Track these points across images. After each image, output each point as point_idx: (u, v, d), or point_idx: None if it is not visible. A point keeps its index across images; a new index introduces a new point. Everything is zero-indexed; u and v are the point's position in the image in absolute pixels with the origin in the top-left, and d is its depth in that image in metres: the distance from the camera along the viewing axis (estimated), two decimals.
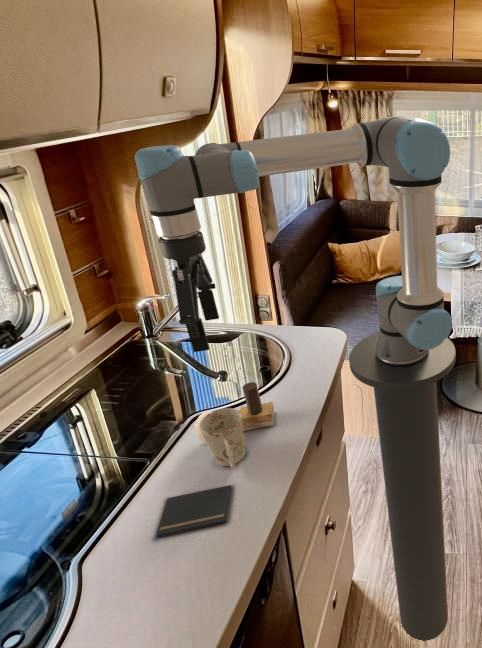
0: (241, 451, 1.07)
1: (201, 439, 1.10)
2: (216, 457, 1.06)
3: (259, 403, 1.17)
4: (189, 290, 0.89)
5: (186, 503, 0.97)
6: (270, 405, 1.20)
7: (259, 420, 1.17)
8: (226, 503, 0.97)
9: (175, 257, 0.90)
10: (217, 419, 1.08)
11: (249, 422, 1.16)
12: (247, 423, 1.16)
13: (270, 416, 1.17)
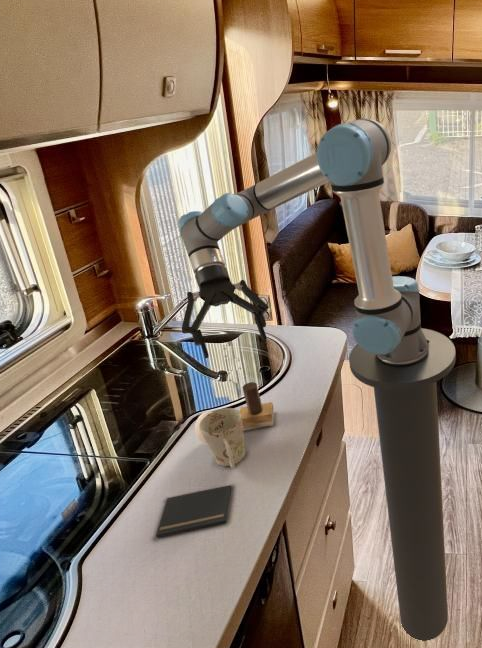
0: (241, 451, 1.07)
1: (201, 439, 1.10)
2: (216, 457, 1.06)
3: (259, 403, 1.17)
4: None
5: (186, 503, 0.97)
6: (270, 405, 1.20)
7: (259, 420, 1.17)
8: (226, 503, 0.97)
9: None
10: (217, 419, 1.08)
11: (249, 422, 1.16)
12: (247, 423, 1.16)
13: (270, 416, 1.17)
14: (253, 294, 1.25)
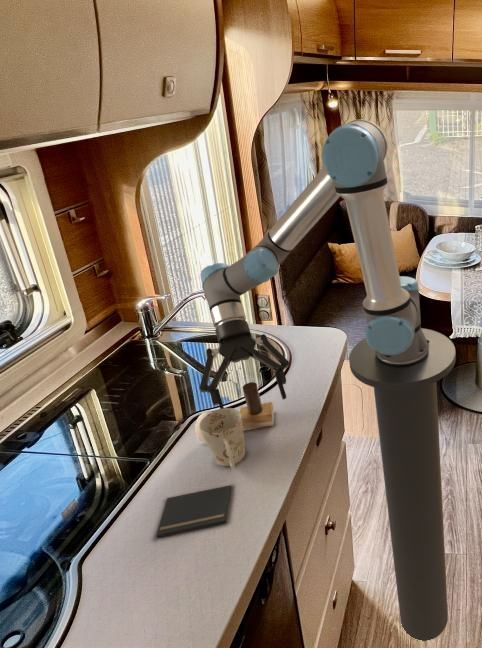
0: (241, 451, 1.07)
1: (201, 439, 1.10)
2: (216, 457, 1.06)
3: (259, 403, 1.17)
4: (205, 364, 1.14)
5: (186, 503, 0.97)
6: (270, 405, 1.20)
7: (259, 420, 1.17)
8: (226, 503, 0.97)
9: None
10: (217, 419, 1.08)
11: (249, 422, 1.16)
12: (247, 423, 1.16)
13: (270, 416, 1.17)
14: (274, 349, 1.20)
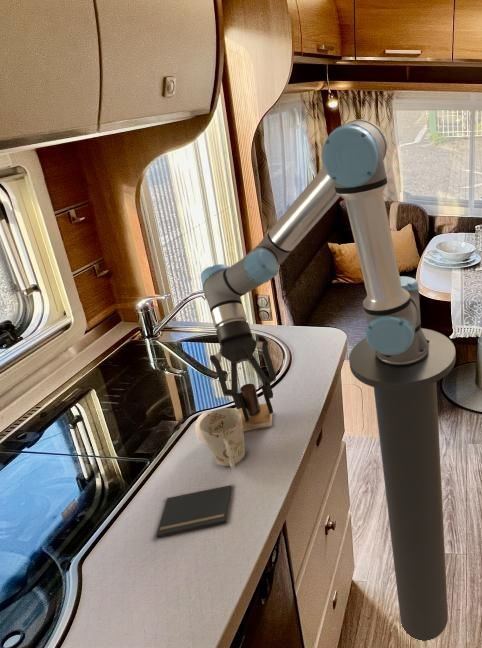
0: (241, 451, 1.07)
1: (201, 439, 1.10)
2: (216, 457, 1.06)
3: (257, 404, 1.16)
4: None
5: (186, 503, 0.97)
6: None
7: (257, 421, 1.16)
8: (226, 503, 0.97)
9: None
10: (217, 419, 1.08)
11: (247, 423, 1.16)
12: (245, 424, 1.16)
13: (268, 417, 1.16)
14: (268, 359, 1.19)
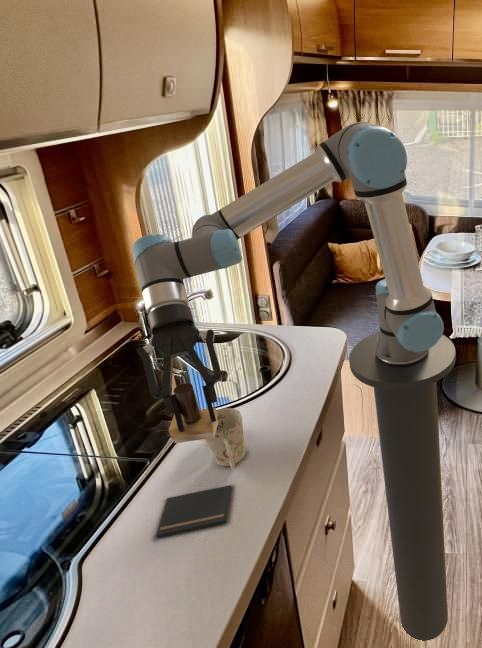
0: (241, 451, 1.07)
1: (201, 439, 1.10)
2: (216, 457, 1.06)
3: (196, 410, 0.92)
4: (144, 366, 0.90)
5: (186, 503, 0.97)
6: None
7: (196, 431, 0.92)
8: (226, 503, 0.97)
9: None
10: (217, 419, 1.08)
11: (183, 433, 0.92)
12: (180, 434, 0.92)
13: (210, 427, 0.92)
14: (213, 352, 0.95)
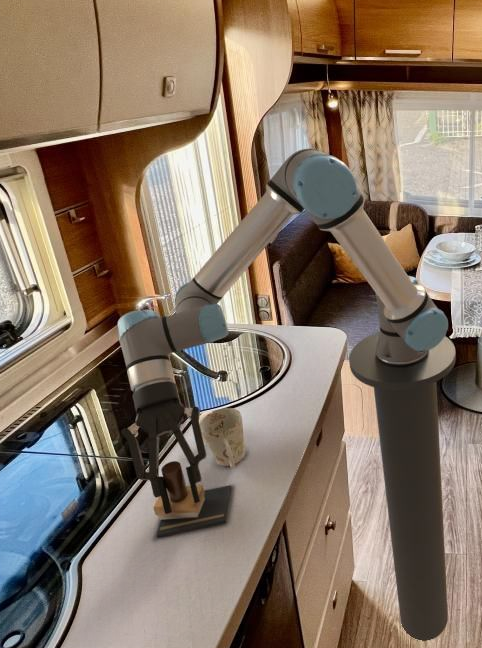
0: (241, 451, 1.07)
1: None
2: (216, 457, 1.06)
3: (182, 489, 0.92)
4: (130, 449, 0.90)
5: None
6: (198, 490, 0.95)
7: (180, 510, 0.92)
8: (226, 503, 0.97)
9: None
10: (217, 419, 1.08)
11: None
12: (164, 512, 0.92)
13: (193, 507, 0.92)
14: (197, 431, 0.95)
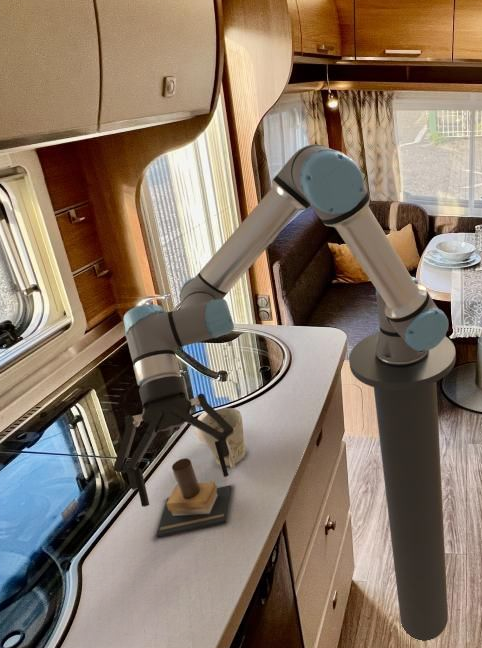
0: (241, 451, 1.07)
1: (201, 439, 1.10)
2: (216, 457, 1.06)
3: (193, 486, 0.93)
4: (123, 437, 0.90)
5: None
6: (210, 487, 0.96)
7: (192, 506, 0.93)
8: (226, 503, 0.97)
9: None
10: None
11: (179, 507, 0.93)
12: (177, 508, 0.93)
13: (205, 503, 0.93)
14: (214, 413, 0.96)
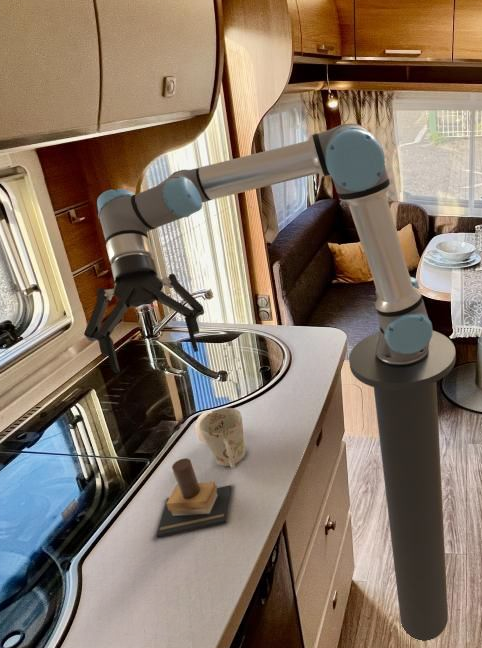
0: (241, 451, 1.07)
1: (201, 439, 1.10)
2: (216, 457, 1.06)
3: (193, 486, 0.93)
4: (94, 307, 0.93)
5: None
6: (210, 487, 0.96)
7: (192, 506, 0.93)
8: (226, 503, 0.97)
9: None
10: (217, 419, 1.08)
11: (179, 507, 0.93)
12: (177, 508, 0.93)
13: (205, 503, 0.93)
14: (184, 292, 0.99)
